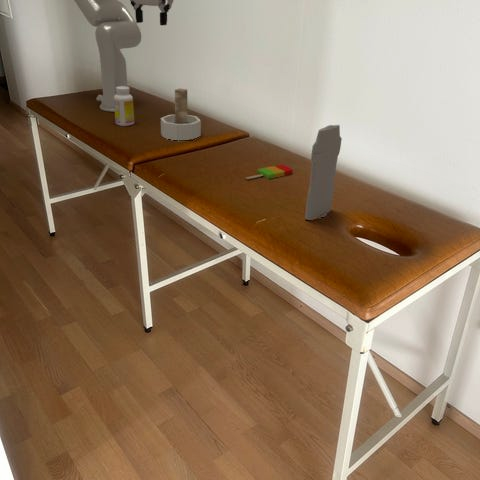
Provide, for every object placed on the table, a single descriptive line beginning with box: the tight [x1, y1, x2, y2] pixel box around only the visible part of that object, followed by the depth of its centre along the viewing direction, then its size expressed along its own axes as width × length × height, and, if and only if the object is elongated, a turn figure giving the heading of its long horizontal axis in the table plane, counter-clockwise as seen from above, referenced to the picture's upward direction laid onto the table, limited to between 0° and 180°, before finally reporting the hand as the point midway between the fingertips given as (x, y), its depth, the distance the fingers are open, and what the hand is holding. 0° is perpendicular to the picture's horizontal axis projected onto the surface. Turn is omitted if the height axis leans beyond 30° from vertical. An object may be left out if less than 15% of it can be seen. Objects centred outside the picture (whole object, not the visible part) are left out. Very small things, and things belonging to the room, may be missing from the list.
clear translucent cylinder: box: [174, 88, 188, 124], centre depth 173 cm, size 3×3×14 cm
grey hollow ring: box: [160, 114, 202, 142], centre depth 175 cm, size 13×13×6 cm
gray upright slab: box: [304, 124, 343, 220], centre depth 119 cm, size 11×4×22 cm, turn 136°
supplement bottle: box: [114, 86, 135, 127], centre depth 183 cm, size 7×7×13 cm
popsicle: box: [245, 164, 293, 180], centre depth 146 cm, size 6×15×2 cm, turn 125°
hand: (151, 23), depth 176 cm, fingers open, 9 cm apart
